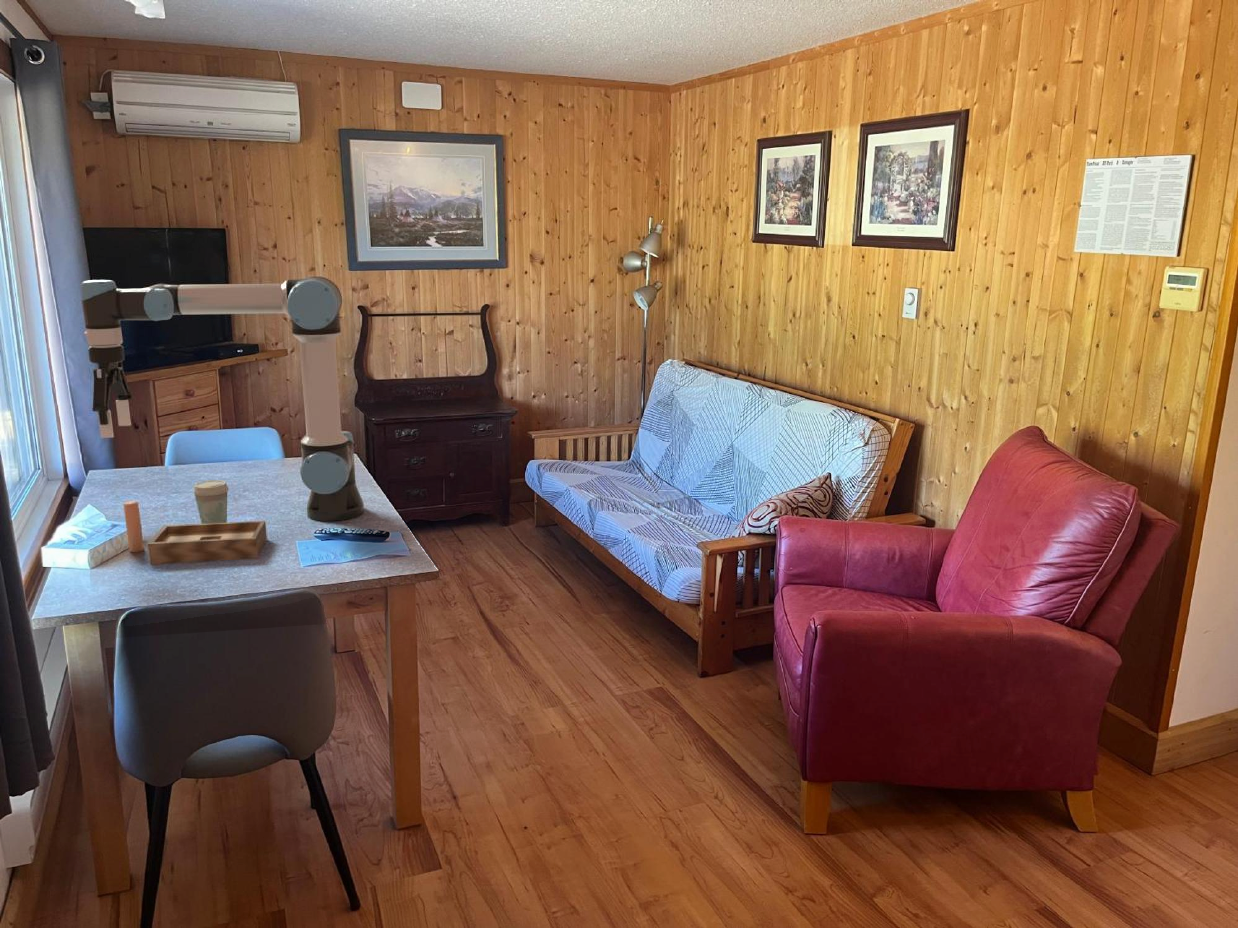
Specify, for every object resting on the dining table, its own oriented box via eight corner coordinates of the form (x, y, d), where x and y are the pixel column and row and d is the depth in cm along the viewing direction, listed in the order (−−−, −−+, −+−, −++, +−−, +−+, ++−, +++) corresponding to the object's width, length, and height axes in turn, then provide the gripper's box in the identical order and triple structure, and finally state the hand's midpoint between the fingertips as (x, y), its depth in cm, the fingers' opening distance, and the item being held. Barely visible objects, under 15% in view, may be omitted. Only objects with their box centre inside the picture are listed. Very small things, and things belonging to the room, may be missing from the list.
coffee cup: (194, 534, 246) (190, 489, 242) (199, 524, 253) (194, 480, 250) (230, 531, 248) (225, 487, 245) (234, 521, 256) (229, 478, 253)
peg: (145, 547, 235) (139, 501, 232) (141, 551, 232) (135, 504, 229) (131, 548, 235) (125, 501, 232) (127, 552, 232) (121, 505, 229)
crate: (267, 539, 242) (265, 520, 241) (257, 558, 229) (255, 538, 227) (166, 544, 238) (163, 525, 236) (150, 564, 224) (147, 544, 223)
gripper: (105, 339, 241) (116, 421, 246) (69, 352, 217) (81, 443, 222) (137, 338, 242) (147, 420, 247) (105, 352, 218) (116, 442, 224)
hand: (116, 431), depth 235 cm, fingers open, 13 cm apart
